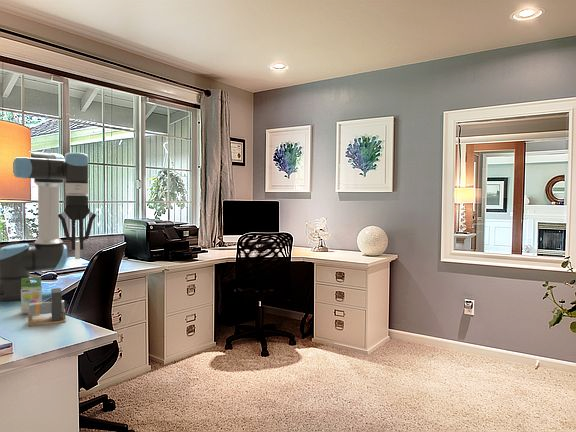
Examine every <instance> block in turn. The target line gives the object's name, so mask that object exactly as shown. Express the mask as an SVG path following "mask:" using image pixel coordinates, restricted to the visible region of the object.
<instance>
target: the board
mask: <svg viewBox="0 0 576 432" xmlns="http://www.w3.org/2000/svg"><path fill="white" fill-rule="evenodd" d="M64 311H65V312H62V320H55V321H52V315H51V316H45V317H44V316H43V317H35V318H34V317H33V315H30V316H29V314H27V316H28V322H27V323H28V325H27V326H28V327H34V326H36V327H37V326H43V325H51V324H52V325H53V324H60V323H66V322H67V319H66V309H65V308H64Z"/></svg>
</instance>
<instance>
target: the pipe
mask: <svg viewBox="0 0 576 432" xmlns="http://www.w3.org/2000/svg"><path fill="white" fill-rule="evenodd" d="M64 309H65V300H64V299H62V312H65V313H66V310H65V311H64ZM46 314H52V300H49V301H42V302H36V303H29V314H28V315H29V316H30V315H32V316H35V317H36V316H40V315H46Z"/></svg>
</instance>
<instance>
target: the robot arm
mask: <svg viewBox="0 0 576 432" xmlns="http://www.w3.org/2000/svg"><path fill="white" fill-rule="evenodd" d="M30 152H31V158H29V157H16V158H15V159H14V162H13V173H14V175H13V176H14V177H15V178H18V179H33V180H34V181H33V182H34V184H36V186H37V190H38V191H37V192H38V193H37V195H38V196H37V202H38V204H37V208H38V210H37V219H38V221H37V226H38V227H37V229H38V230H37V233H38V234H37V239H36V240H35V241H34V246H32V245H30V243H16V244H11V245H6V246H3V247H1V248H0V301H1V302H7V301H8V302H10V301H20V300H21V278H30V273H35V272H36V273H37V272H49V271H51V272H53V271H58V270H59V271H60V270H62V269H64V267H65V266H66V263H67V260H68V246H67V245H66V244H64V240H63V239H61V238H60V221H61V226H62V229H63V232H64V235H65V239H66V241H71V250H72V251H74V259H75V260H81V250H83V249H84V241H86V240H88V239H89V237H90V234H91V230H92V227H93V224H94V223H93V221H94V220H95V218H96V217H97V214H95V213H94V212H92V211H91V209H90V207H89V196H88V194H89V158H88V154H86V153H82V152H67V153H65V156H63V155H62V154H59V153H54V152H38V151H30ZM64 181H65V194H66V196H65V208H64V210H63V212H60V187H61V186H63V184H64ZM66 217H68V218H69V219H70V220H71V221H70V222H71V225H70V226H71V228H70V229H71V230H70V231H71V236H70V233H69V229H68V226H67V223H66V220H65V218H66ZM86 217H88V222H87V225H86V230H85V234H84V220H85V219H86ZM76 221H78V240H76ZM31 281H32V280H29V281H26V283H32V282H31Z"/></svg>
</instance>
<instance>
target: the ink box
mask: <svg viewBox="0 0 576 432" xmlns="http://www.w3.org/2000/svg"><path fill="white" fill-rule="evenodd" d="M29 280H30V281H33V282H31V283H26V281H29ZM35 281H36V282H35ZM36 302H43V289H42V276H38V277H36V276H35V277H29V278H21V301H20V309H21V315H29V303H36Z"/></svg>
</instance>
